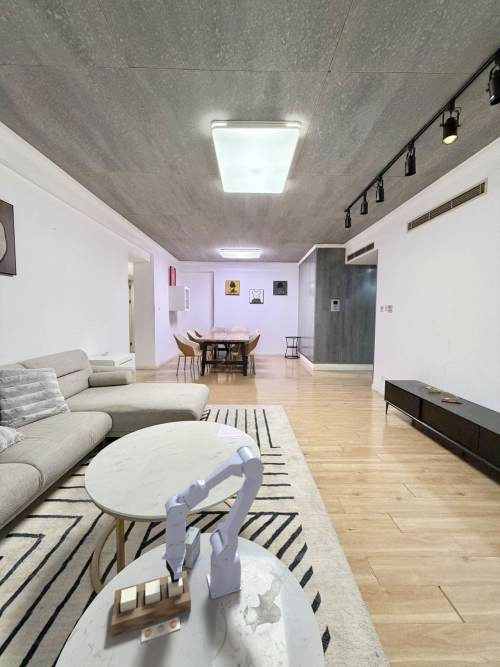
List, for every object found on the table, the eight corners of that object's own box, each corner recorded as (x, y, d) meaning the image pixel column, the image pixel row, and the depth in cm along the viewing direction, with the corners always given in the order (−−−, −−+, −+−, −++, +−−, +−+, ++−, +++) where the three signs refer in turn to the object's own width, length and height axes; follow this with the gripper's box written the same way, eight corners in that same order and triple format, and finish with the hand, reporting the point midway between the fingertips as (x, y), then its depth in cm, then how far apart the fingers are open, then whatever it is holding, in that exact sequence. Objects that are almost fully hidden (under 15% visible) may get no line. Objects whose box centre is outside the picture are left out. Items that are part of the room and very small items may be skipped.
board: (186, 580, 92) (186, 570, 92) (190, 610, 83) (191, 599, 83) (115, 601, 85) (115, 590, 85) (111, 637, 76) (111, 625, 75)
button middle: (159, 589, 86) (159, 579, 86) (160, 601, 83) (160, 591, 82) (145, 593, 85) (145, 583, 85) (145, 606, 81) (145, 596, 81)
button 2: (181, 582, 89) (181, 573, 88) (182, 594, 85) (182, 584, 85) (167, 586, 87) (167, 577, 87) (168, 599, 83) (168, 588, 83)
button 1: (136, 596, 84) (136, 586, 84) (136, 609, 80) (136, 598, 80) (121, 600, 83) (121, 590, 82) (120, 614, 79) (120, 603, 79)
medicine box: (191, 569, 96) (192, 545, 96) (179, 566, 97) (179, 542, 97) (200, 550, 104) (200, 528, 103) (189, 548, 105) (189, 525, 104)
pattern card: (179, 618, 81) (179, 616, 81) (180, 629, 78) (180, 627, 78) (141, 630, 77) (141, 629, 77) (141, 642, 74) (141, 641, 74)
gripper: (160, 523, 90) (160, 563, 91) (163, 561, 77) (162, 608, 78) (183, 518, 93) (182, 557, 94) (189, 554, 79) (188, 599, 80)
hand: (175, 580), depth 86 cm, fingers closed
